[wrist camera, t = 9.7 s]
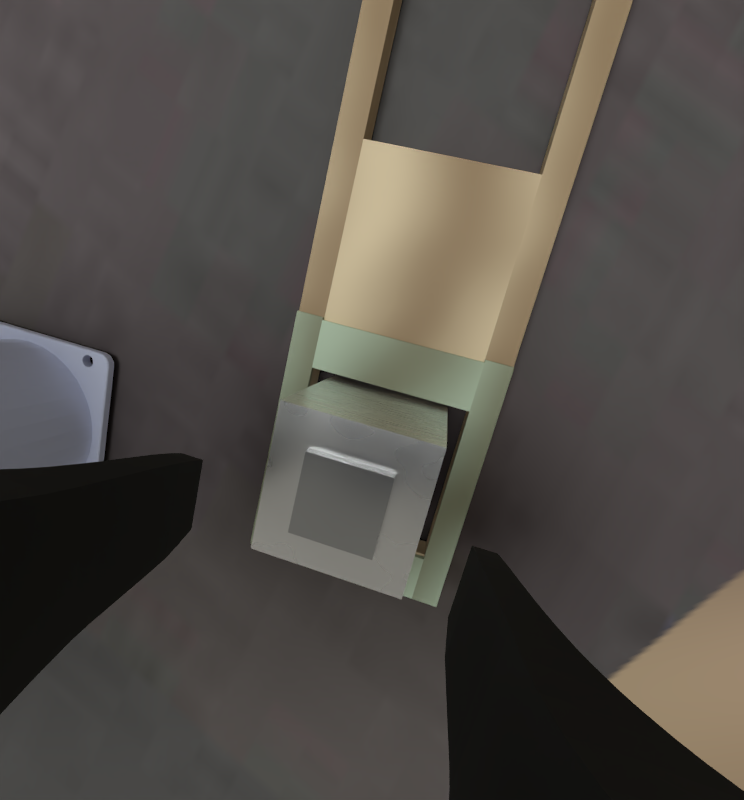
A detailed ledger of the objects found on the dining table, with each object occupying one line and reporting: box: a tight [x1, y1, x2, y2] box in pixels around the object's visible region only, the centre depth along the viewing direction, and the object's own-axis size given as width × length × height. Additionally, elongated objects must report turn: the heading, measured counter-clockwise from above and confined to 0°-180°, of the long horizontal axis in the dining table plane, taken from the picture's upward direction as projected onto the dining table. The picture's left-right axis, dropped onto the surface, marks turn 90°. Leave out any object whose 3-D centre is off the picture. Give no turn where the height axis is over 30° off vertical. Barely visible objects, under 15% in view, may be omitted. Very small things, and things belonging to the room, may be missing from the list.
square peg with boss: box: [251, 374, 448, 599], centre depth 14 cm, size 4×4×6 cm
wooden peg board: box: [250, 0, 633, 607], centre depth 15 cm, size 8×24×1 cm, turn 166°
